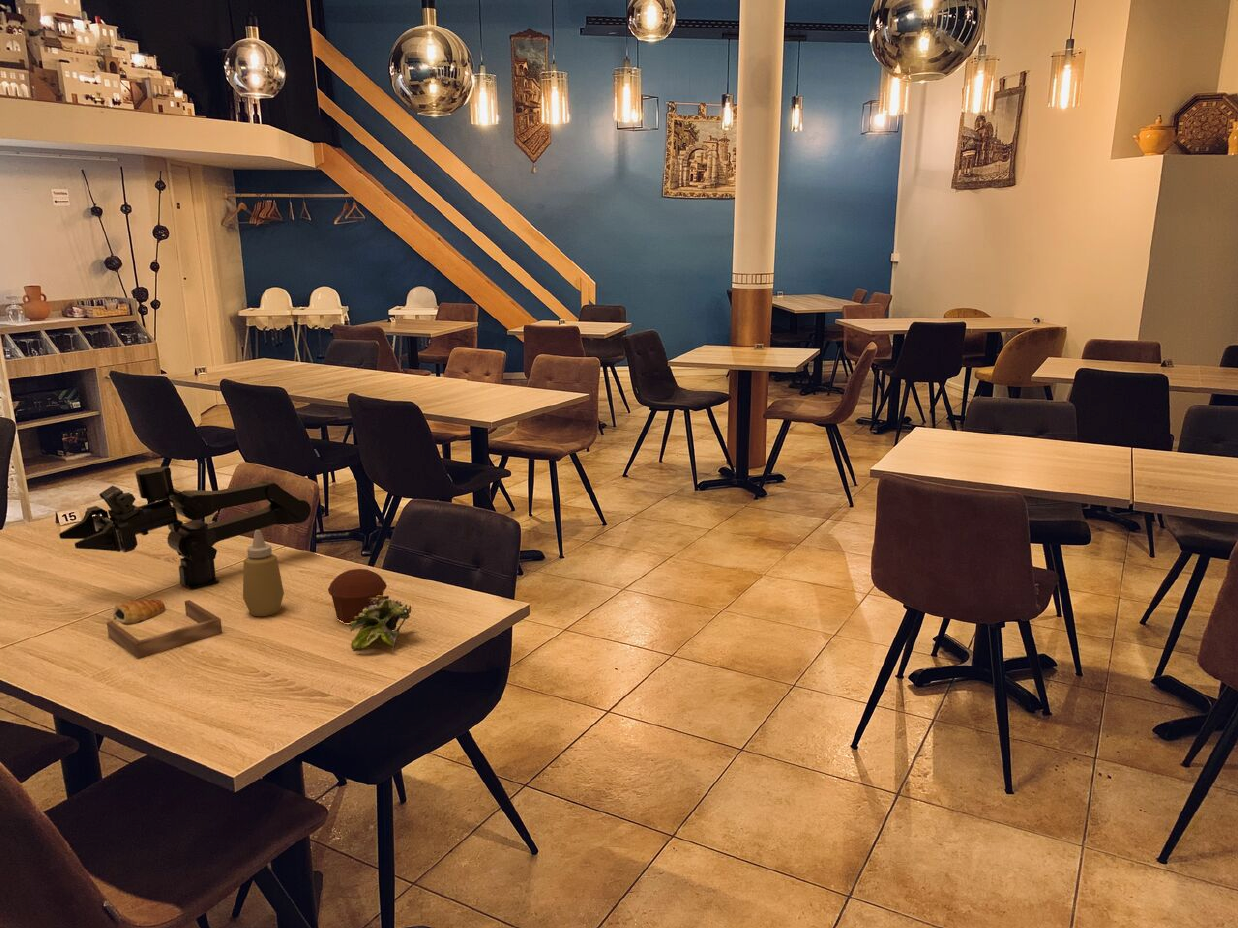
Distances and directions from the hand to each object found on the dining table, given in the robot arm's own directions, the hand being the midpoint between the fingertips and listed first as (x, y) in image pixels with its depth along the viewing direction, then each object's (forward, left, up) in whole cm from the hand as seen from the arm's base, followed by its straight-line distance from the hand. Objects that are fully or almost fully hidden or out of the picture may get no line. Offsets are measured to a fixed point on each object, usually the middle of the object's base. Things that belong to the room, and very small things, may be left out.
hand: (67, 541), depth 184 cm
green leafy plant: (-35, +59, -16) cm, 71 cm away
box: (-8, +23, -16) cm, 29 cm away
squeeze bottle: (-27, +27, -16) cm, 42 cm away
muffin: (-39, +44, -16) cm, 61 cm away
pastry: (-8, +10, -17) cm, 21 cm away
